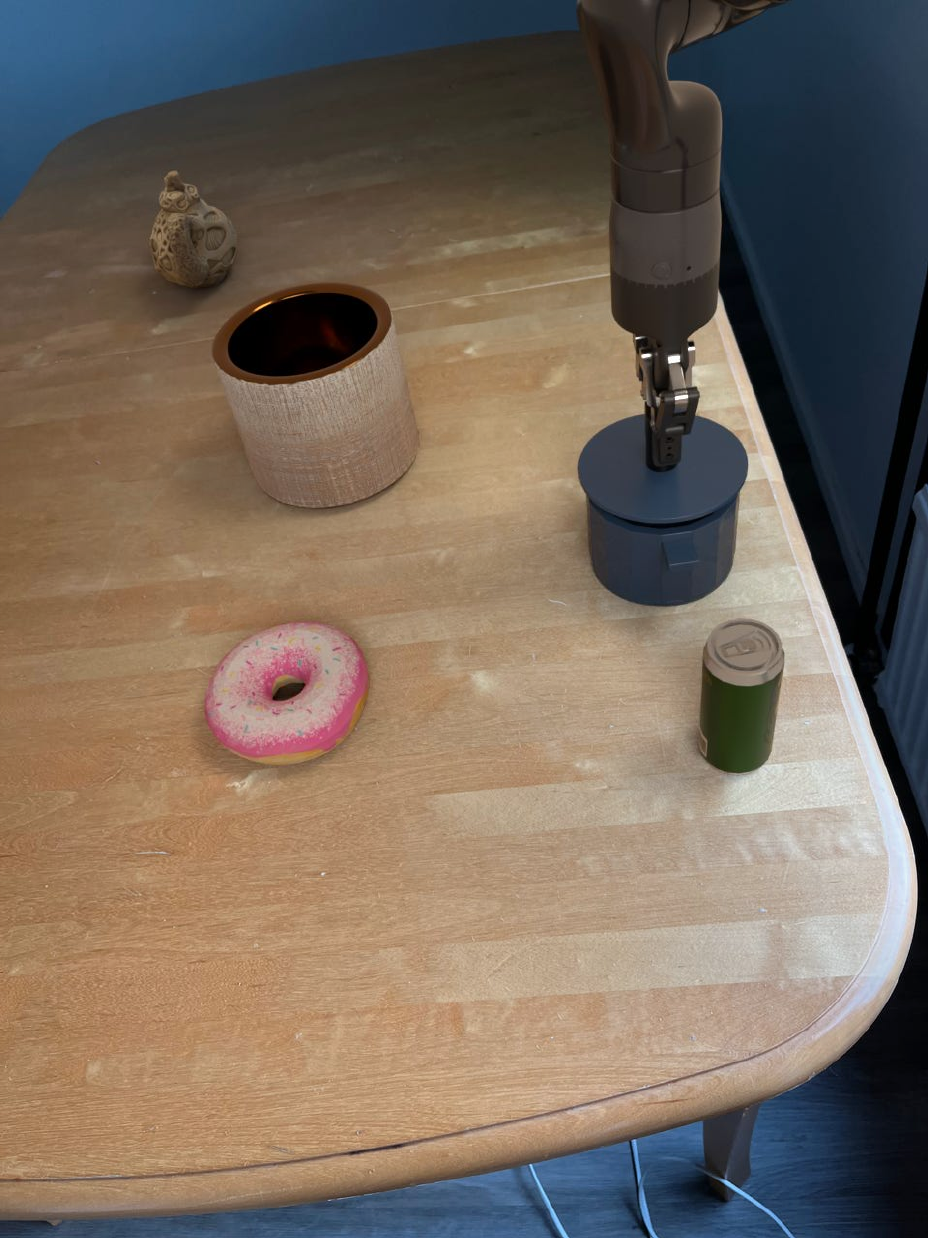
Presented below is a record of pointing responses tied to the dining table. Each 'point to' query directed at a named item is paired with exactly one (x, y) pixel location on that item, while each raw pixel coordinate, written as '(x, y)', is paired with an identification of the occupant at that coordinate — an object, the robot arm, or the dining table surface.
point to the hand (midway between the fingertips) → (662, 449)
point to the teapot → (191, 237)
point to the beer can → (739, 695)
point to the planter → (318, 393)
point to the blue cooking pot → (662, 555)
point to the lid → (662, 471)
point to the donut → (297, 723)
